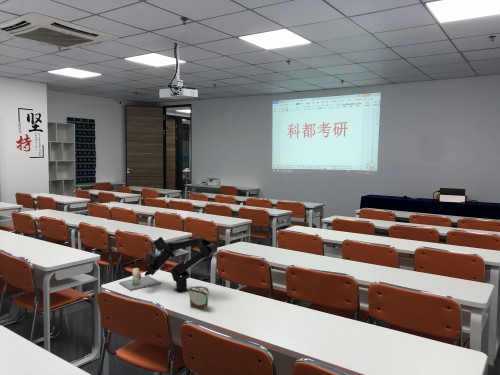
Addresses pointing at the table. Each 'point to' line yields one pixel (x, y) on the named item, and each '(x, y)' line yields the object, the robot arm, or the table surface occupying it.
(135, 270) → the tuning peg
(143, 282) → the grey flat slab
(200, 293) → the food container
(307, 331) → the table surface
